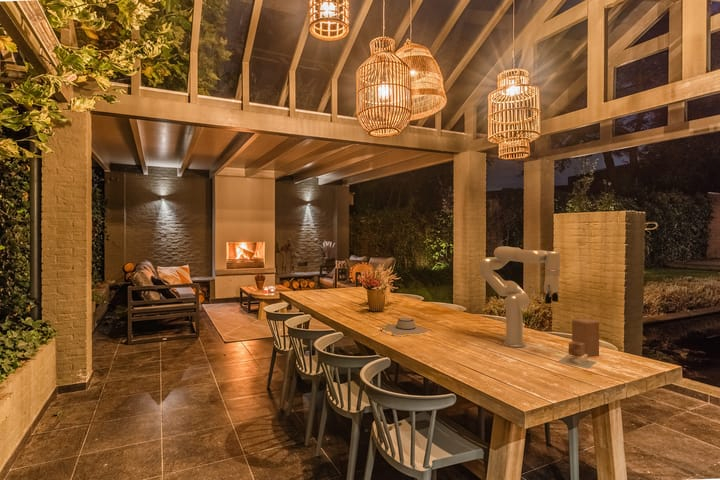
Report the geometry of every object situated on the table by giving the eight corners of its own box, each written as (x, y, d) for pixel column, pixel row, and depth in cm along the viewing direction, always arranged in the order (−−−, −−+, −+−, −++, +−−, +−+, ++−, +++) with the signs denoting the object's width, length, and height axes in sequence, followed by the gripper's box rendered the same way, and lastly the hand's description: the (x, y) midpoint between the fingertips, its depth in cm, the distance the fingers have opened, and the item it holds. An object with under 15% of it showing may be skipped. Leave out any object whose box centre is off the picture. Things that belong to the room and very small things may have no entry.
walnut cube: (568, 354, 210) (568, 343, 210) (572, 352, 214) (572, 341, 214) (581, 356, 206) (581, 345, 206) (584, 354, 210) (584, 343, 210)
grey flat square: (556, 363, 210) (556, 362, 210) (566, 357, 221) (566, 356, 221) (588, 370, 200) (588, 368, 200) (597, 363, 210) (596, 361, 210)
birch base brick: (566, 362, 210) (566, 354, 210) (571, 358, 216) (571, 351, 216) (582, 365, 205) (582, 357, 205) (587, 361, 210) (587, 354, 210)
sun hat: (370, 331, 290) (370, 318, 290) (404, 324, 313) (404, 312, 313) (406, 340, 262) (406, 326, 262) (441, 331, 285) (441, 319, 285)
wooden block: (585, 358, 219) (585, 322, 219) (571, 353, 228) (571, 318, 228) (600, 357, 221) (599, 321, 221) (585, 352, 231) (585, 317, 231)
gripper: (551, 271, 236) (550, 299, 237) (539, 273, 225) (538, 303, 225) (564, 272, 231) (564, 301, 231) (553, 274, 219) (552, 305, 220)
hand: (551, 302), depth 228 cm, fingers open, 9 cm apart
